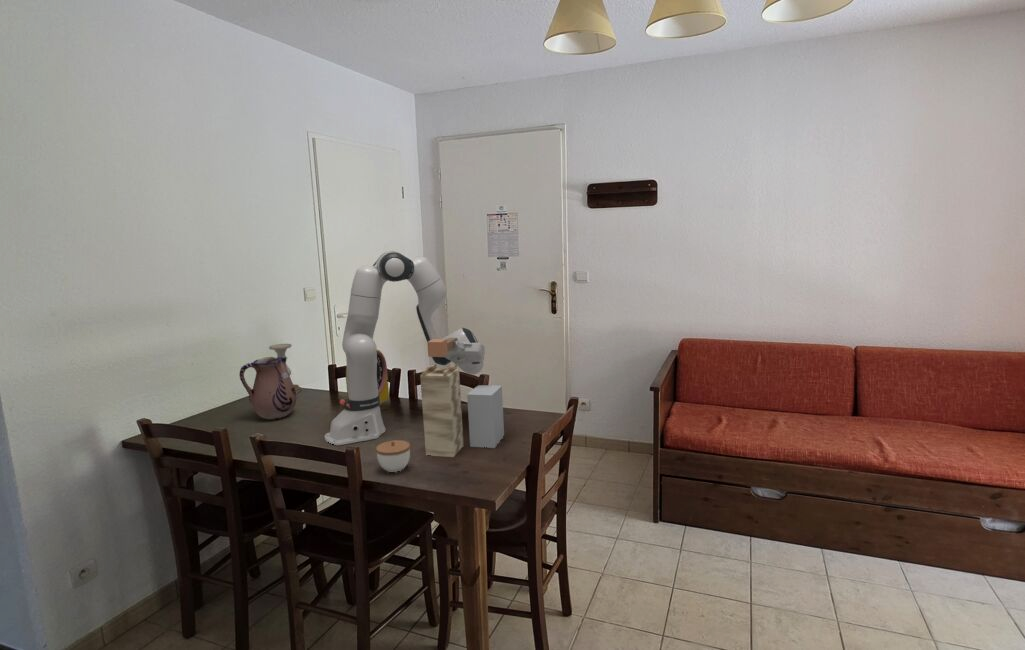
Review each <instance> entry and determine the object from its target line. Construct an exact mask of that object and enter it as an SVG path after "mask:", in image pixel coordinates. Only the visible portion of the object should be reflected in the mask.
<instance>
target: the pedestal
mask: <svg viewBox="0 0 1025 650" xmlns="http://www.w3.org/2000/svg"><path fill="white" fill-rule="evenodd" d="M466 397H467V398H466V399H467V414H468V415H467V416H468V431H469V447H470V448H484V447H485V449H486V447H487V448H488V449H496V447H497V446H498V445H499V443H500V442H501V441H500V440H501V439H502V440H503V439H504V437H505V429H504V428H505V426H504V425H505V423H504V408H503V407H504V403H503V402H504V401H503V386H502V385H492V384H491V385H487V384H486V385H485V384H484V385H483V384H481V385H480V384H477V386H475V387H474V388H472V390H470V391H469V392H468V393H467V394H466ZM503 436H504V437H503ZM497 444H498V445H497Z"/></svg>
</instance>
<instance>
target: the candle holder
mask: <svg viewBox="0 0 1025 650" xmlns="http://www.w3.org/2000/svg"><path fill="white" fill-rule="evenodd" d="M292 345H293V344H291V343H278V344H273V345H270V346H269V347H268V349H269V350H271V351H274V352H275V353H276V355H277V356H276V358H278V357H286V361H287V360H288V356H286V352H287V349H290V348H291V347H292ZM286 367H287V370H288V373H289V376H290V375H292V370H291V368H290V367H289V366H288V365H287V363H286ZM290 377H291V376H290ZM293 386H294V389H295V392H296V391H298V390H300V389H301V390H302V387H301V386H299V384H293Z"/></svg>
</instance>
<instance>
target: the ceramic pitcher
mask: <svg viewBox="0 0 1025 650" xmlns="http://www.w3.org/2000/svg"><path fill="white" fill-rule="evenodd" d="M286 357H287V356H286ZM286 357H278V358H277V357H274V356H269V357H268V356H267V357H262V358H259V359H255V360H254V361H253V362H248V363H246V364H243V365H242V366H241V368H240V370H239V373H238V374H239V379H240V381H241V383H242V385H243V387H244V389H245V390H246V392H247V395H249V396H248V397H249V398H248V400H249V403H250V404H251V406H252V408H253V410H254V412H255V413H256V415H258V416H259V417H260V418H262V419H265V420H276V419H275V418H279V419H282V418H281V417H283V418H285V417H287V416H288V415H290V414H291V413H292V411H293V410H294V408H295V407H296V404H297V394H296V392H295V389H294V386H293V381H292V379H291V376H289V373H288V370H287V367H286V364H287V360H286ZM250 368H251V369H254V370H255V372H256V374H255V378H254V382H253V386H252V388H251V387H250V385H249V384H248V383H247V380H246V378H245V372H246V370H248V369H250ZM284 416H285V417H284Z"/></svg>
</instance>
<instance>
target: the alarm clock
mask: <svg viewBox="0 0 1025 650" xmlns="http://www.w3.org/2000/svg"><path fill="white" fill-rule="evenodd" d="M345 368H346V369H345V382H346V383H345V384H346V385H347V366H346V367H345ZM388 376H389V375H388V366H387V360H386V358H385V355H384V354H383V352H382V351H380V350H379V349H377V385H378V394H379V396H380V402H381V404H383V403H384V401H385V402H386V401H388V400H389V399H390V391H389V388H390V387H389V378H388ZM387 380H388V381H387ZM346 393H347V399H348V398H349V397H348V387H347V386H346ZM386 397H389V398H386ZM387 399H388V400H387ZM382 402H383V403H382Z"/></svg>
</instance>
